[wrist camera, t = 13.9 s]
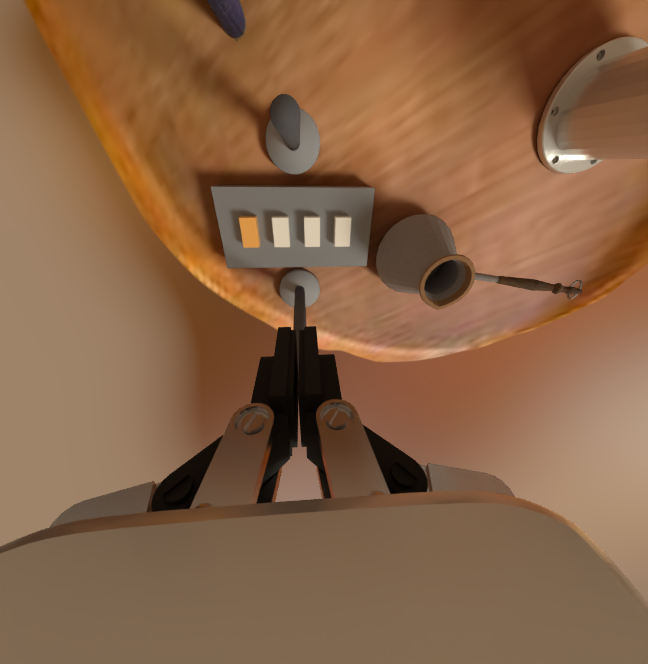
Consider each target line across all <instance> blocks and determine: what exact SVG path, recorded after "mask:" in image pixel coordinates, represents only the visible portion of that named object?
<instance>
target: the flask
mask: <svg viewBox="0 0 648 664" xmlns="http://www.w3.org/2000/svg"><path fill="white" fill-rule="evenodd" d="M207 1H208V3H209V5H210V7H211V9H212V10H213V12H214V13H215V15H216V16H217V18H218V20H219V21H220V23H221V25H222V27H223V28H224V30H225V32H226V34H227V35H229V36H230V37H232V38H235V40H236V41H237V40H238V38H241V37H242V36H243V35H244V32H245V30H246V20H245V17H244V12H243V8H242V5H241V3H240V1H239V0H207Z"/></svg>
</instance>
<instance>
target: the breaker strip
mask: <svg viewBox="0 0 648 664" xmlns="http://www.w3.org/2000/svg"><path fill="white" fill-rule="evenodd" d="M211 191H212V195H213V200H214V205H215V210H216V215H217V220H218V224H219V229H220V234H221V239H222V244H223V249H224V253H225V258H226V263H227V268H269V267H330V266H367V258H368V248H369V239H370V230H371V220H372V211H373V202H374V193H375V188H374V187H371V186H280V185H216V186H212V187H211Z"/></svg>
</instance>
